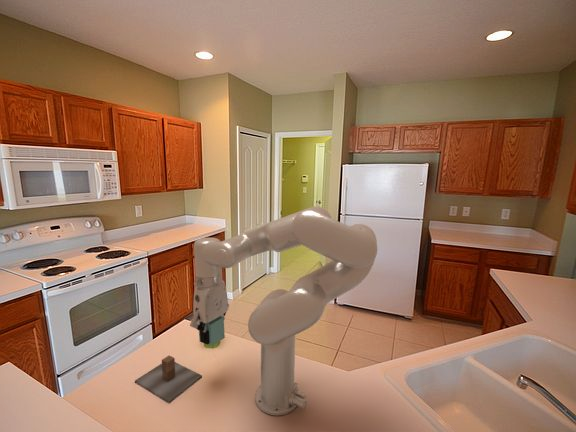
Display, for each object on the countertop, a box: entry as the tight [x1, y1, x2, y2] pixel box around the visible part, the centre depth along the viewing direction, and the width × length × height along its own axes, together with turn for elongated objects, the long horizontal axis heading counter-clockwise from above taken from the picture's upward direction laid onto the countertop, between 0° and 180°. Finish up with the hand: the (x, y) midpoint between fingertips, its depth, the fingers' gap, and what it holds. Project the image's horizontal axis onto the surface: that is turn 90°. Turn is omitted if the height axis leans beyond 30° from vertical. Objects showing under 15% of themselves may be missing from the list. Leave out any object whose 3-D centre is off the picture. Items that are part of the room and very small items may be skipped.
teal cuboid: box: [198, 316, 226, 346], centre depth 82 cm, size 5×5×7 cm
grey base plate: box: [134, 355, 203, 404], centre depth 84 cm, size 16×12×7 cm
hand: (212, 337), depth 82 cm, fingers closed on teal cuboid, 5 cm apart
